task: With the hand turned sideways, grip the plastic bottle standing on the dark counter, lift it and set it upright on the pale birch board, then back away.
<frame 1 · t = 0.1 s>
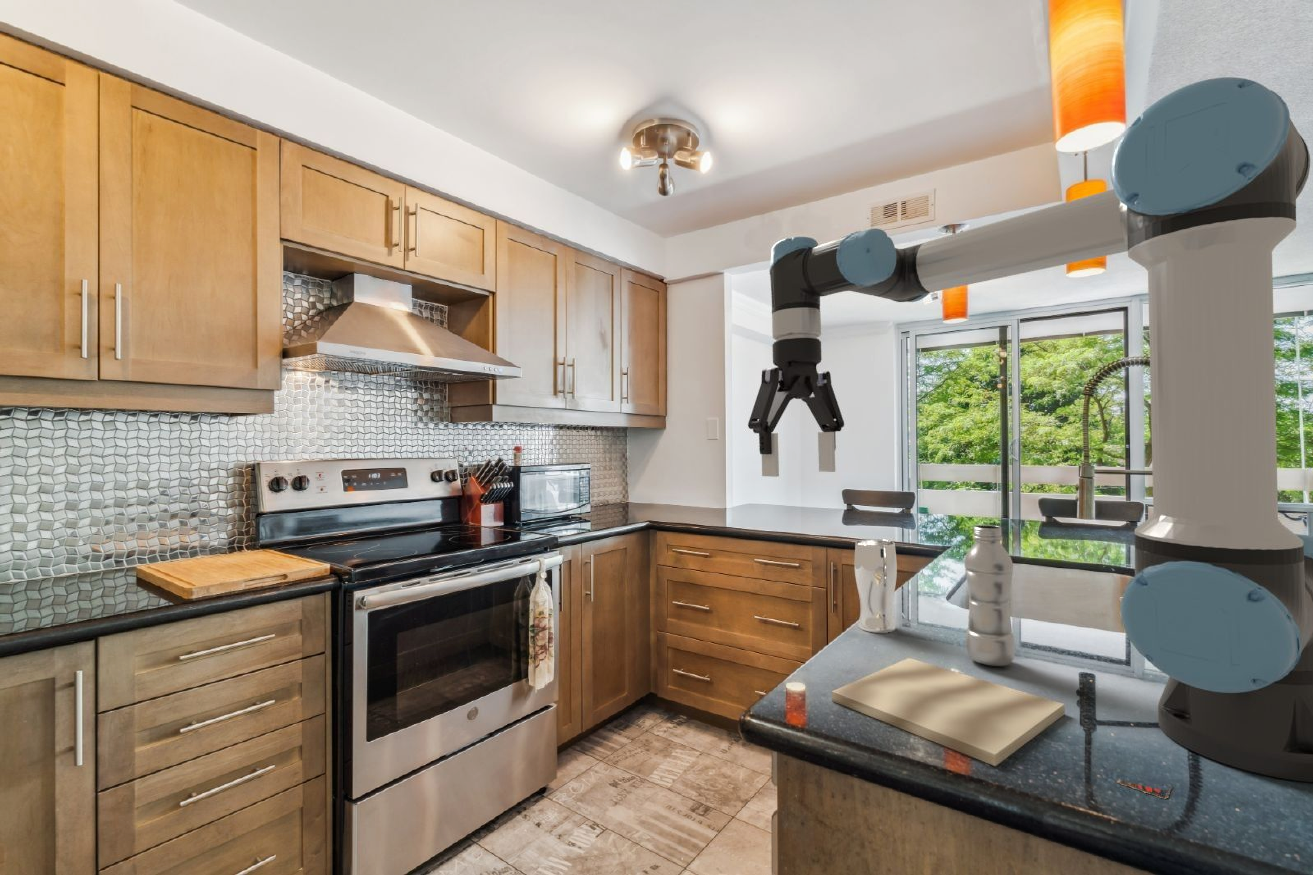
hand: (800, 474, 96), 28 cm above the table, tool pointing down, fingers open, 13 cm apart
beer glass: (876, 629, 106), on the table
birch board: (944, 707, 75), on the table
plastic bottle: (990, 664, 89), on the table
red brown flat piece: (1141, 786, 59), on the table
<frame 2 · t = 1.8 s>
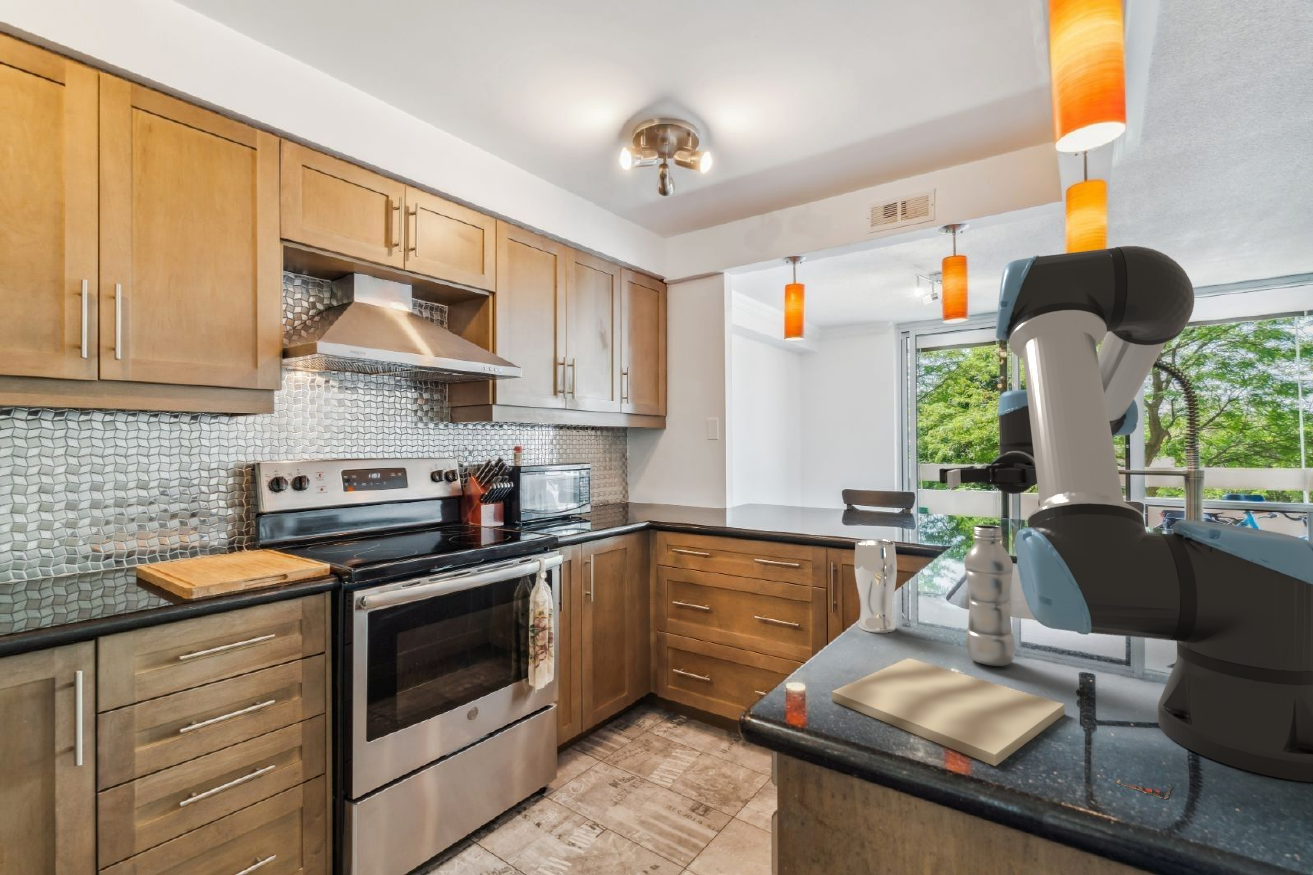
hand: (996, 481, 97), 26 cm above the table, tool horizontal, fingers open, 13 cm apart
nothing on the table moved.
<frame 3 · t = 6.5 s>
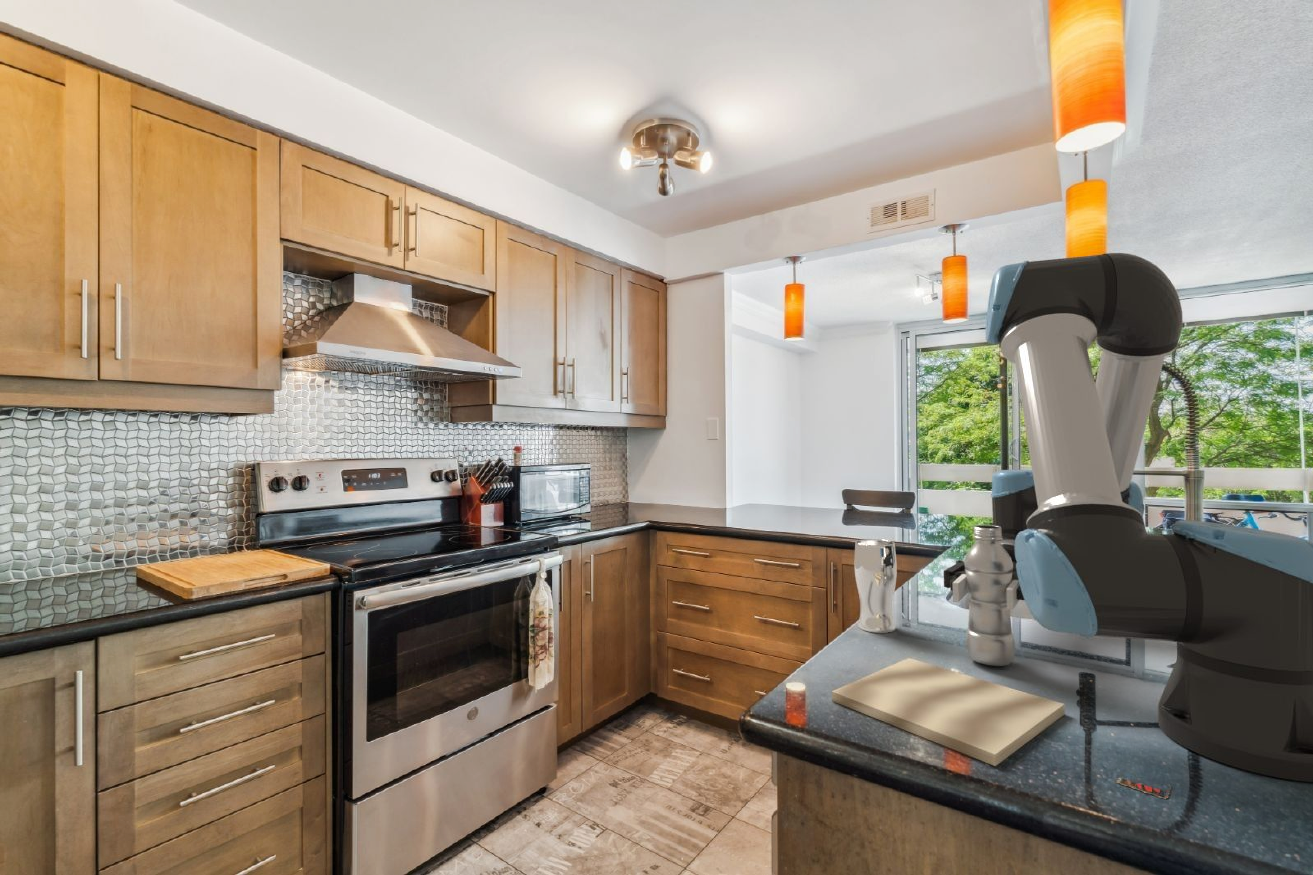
hand: (982, 595, 85), 11 cm above the table, tool horizontal, fingers closed on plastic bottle, 6 cm apart
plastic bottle: (990, 664, 89), on the table, touching gripper
everything else where it was.
when the fingers open (13 cm above the table, at t = 10.6 s): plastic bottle drops 1 cm, resting on birch board.
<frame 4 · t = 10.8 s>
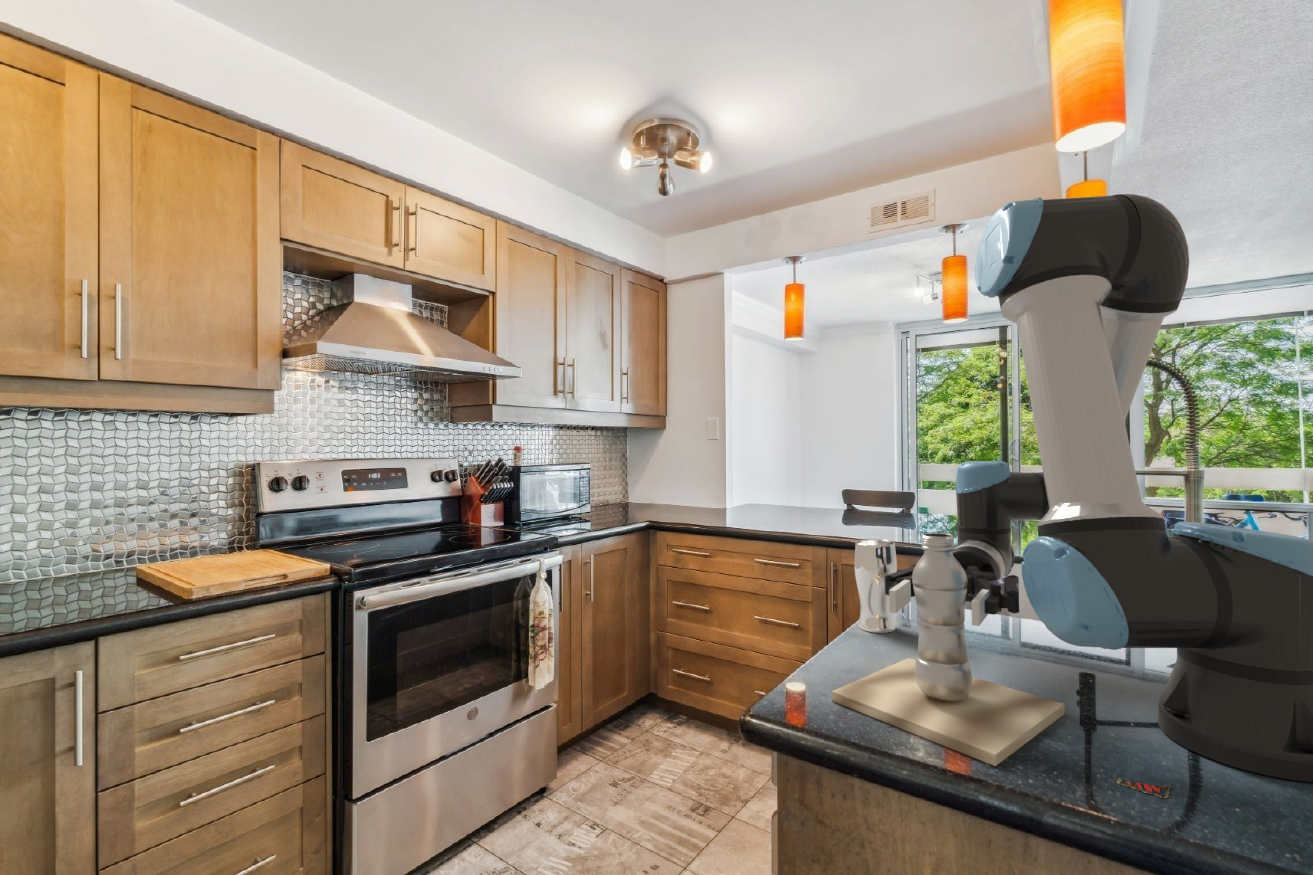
hand: (932, 607, 72), 13 cm above the table, tool horizontal, fingers open, 8 cm apart
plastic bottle: (944, 698, 75), point 1 cm above the table, touching birch board
everything else where it was.
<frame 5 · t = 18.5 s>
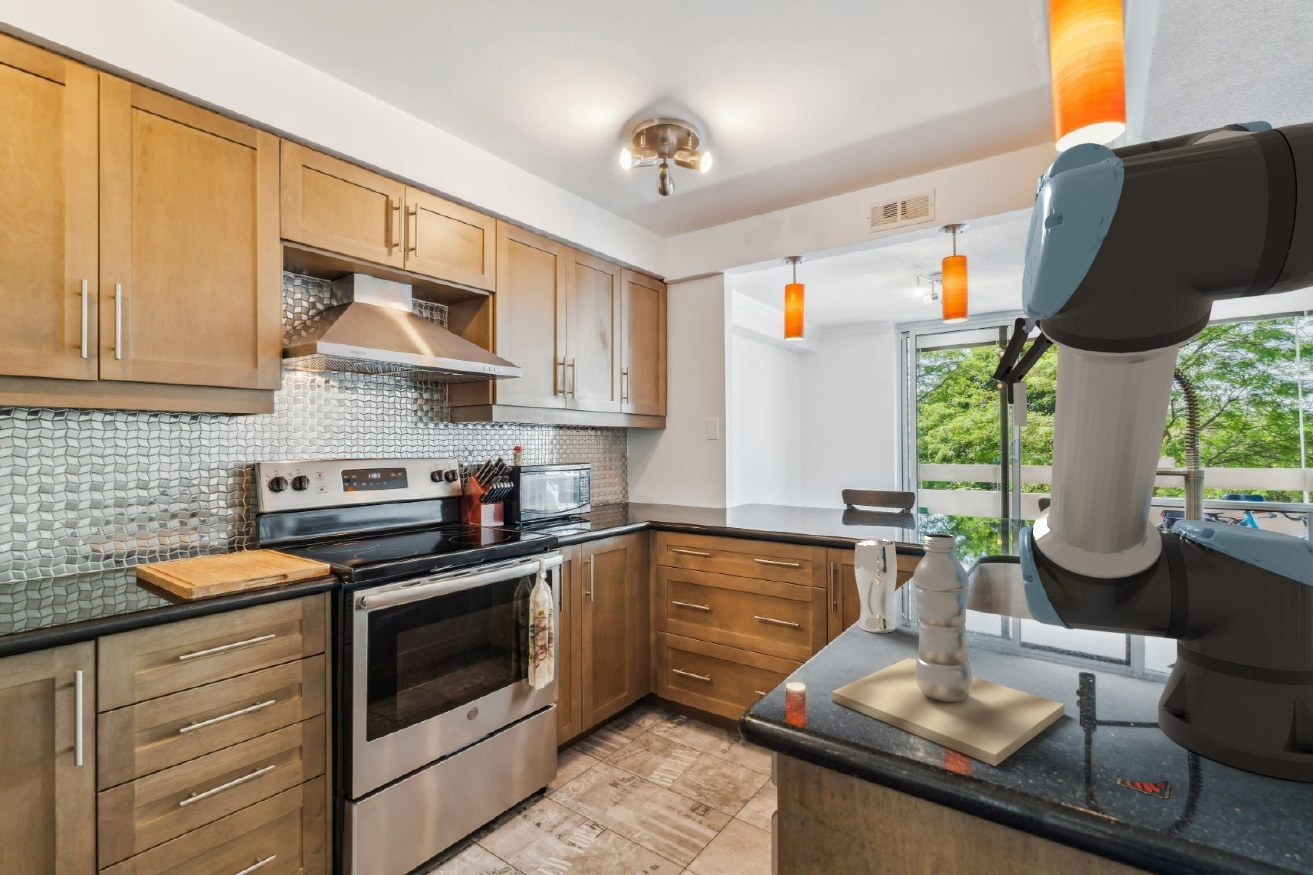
hand: (1071, 424, 88), 35 cm above the table, tool pointing down, fingers open, 13 cm apart
nothing on the table moved.
at the end: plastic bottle inside the target area on the birch board (0.1 cm from its centre), point 1.0 cm above the birch board's base; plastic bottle tilted 0°; the gripper is holding nothing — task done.
